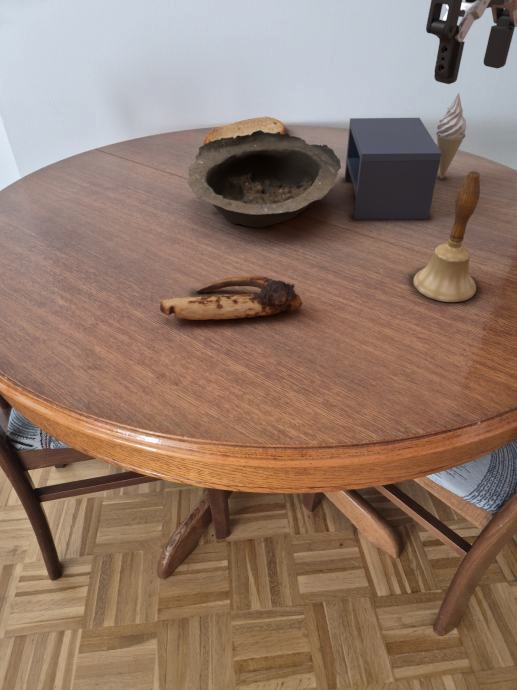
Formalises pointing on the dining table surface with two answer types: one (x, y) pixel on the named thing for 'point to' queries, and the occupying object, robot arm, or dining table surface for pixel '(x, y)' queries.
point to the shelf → (391, 168)
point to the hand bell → (452, 253)
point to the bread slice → (246, 128)
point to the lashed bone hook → (235, 300)
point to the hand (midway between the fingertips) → (470, 74)
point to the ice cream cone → (450, 134)
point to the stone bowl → (262, 176)
